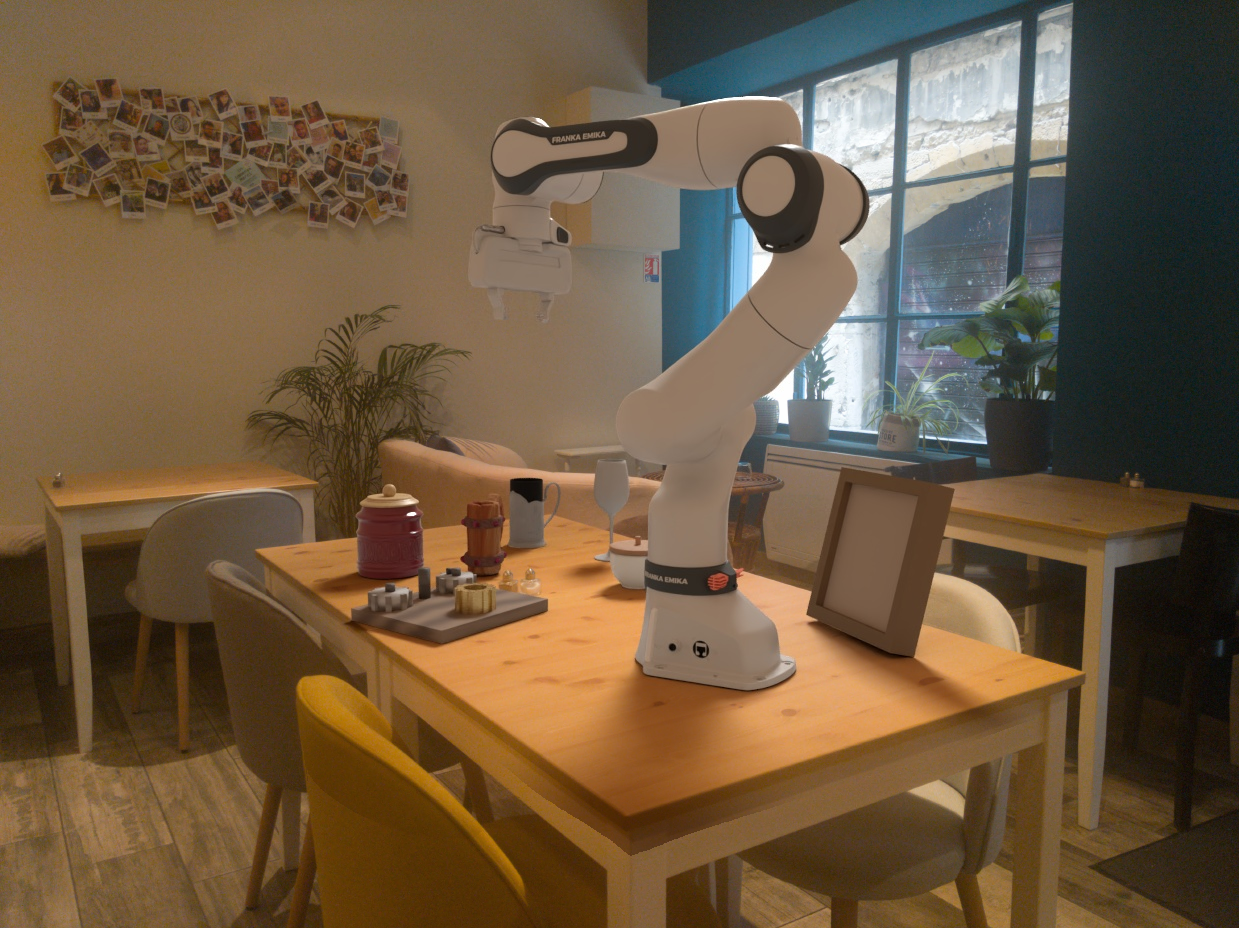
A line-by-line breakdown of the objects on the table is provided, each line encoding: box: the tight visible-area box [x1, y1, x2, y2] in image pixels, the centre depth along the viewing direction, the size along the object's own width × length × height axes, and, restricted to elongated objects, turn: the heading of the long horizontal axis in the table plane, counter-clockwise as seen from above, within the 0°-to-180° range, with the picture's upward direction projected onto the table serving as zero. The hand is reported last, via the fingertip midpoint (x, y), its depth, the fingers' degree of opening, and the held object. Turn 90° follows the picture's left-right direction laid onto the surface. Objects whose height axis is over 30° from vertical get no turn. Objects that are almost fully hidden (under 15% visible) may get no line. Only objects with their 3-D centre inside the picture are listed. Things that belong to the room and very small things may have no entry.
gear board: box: [350, 566, 549, 644], centre depth 155 cm, size 21×24×7 cm
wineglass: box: [593, 458, 630, 563], centre depth 201 cm, size 8×8×21 cm
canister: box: [355, 483, 425, 580], centre depth 186 cm, size 13×13×18 cm
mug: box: [459, 493, 508, 577], centre depth 188 cm, size 15×8×15 cm, turn 168°
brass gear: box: [455, 582, 497, 614], centre depth 152 cm, size 6×6×4 cm
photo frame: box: [805, 466, 955, 658], centre depth 145 cm, size 15×22×25 cm
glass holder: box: [507, 477, 562, 549], centre depth 218 cm, size 9×14×15 cm, turn 133°
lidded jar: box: [608, 535, 648, 590], centre depth 177 cm, size 11×11×9 cm
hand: (522, 321), depth 146 cm, fingers open, 8 cm apart
